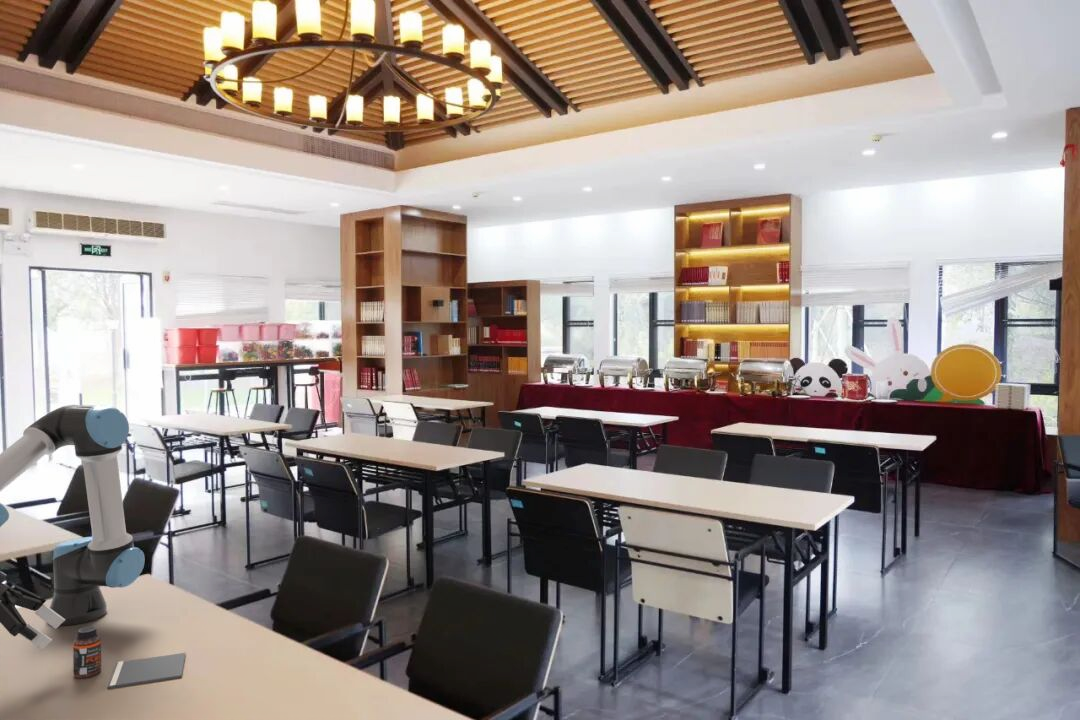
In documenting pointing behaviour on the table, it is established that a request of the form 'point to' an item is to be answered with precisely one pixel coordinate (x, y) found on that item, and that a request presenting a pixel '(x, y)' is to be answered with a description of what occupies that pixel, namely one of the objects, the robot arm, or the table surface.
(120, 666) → the grey flat slab
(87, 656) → the supplement bottle
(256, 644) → the table surface
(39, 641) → the robot arm
